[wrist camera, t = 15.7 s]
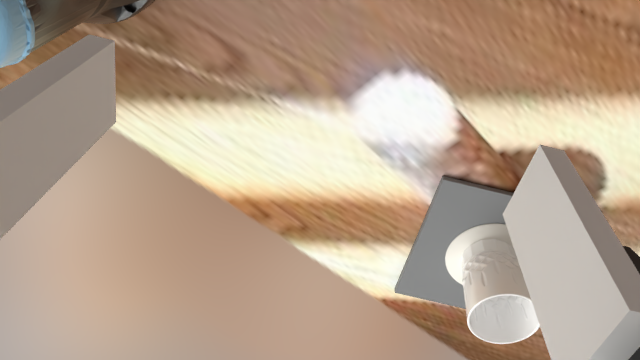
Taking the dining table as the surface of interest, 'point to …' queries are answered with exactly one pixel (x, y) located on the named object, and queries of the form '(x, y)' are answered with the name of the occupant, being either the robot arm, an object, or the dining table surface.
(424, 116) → the dining table surface
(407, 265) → the mat
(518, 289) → the white cup
